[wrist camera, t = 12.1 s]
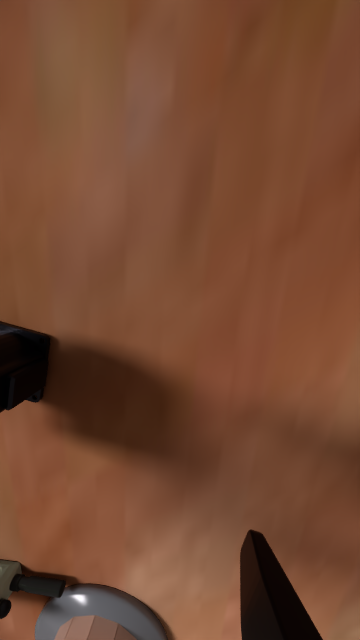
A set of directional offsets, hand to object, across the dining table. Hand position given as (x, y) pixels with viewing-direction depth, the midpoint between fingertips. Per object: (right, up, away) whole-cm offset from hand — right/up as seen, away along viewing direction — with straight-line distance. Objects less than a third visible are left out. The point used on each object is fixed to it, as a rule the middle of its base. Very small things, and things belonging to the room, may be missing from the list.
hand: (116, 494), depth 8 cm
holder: (-7, -30, +20) cm, 36 cm away
